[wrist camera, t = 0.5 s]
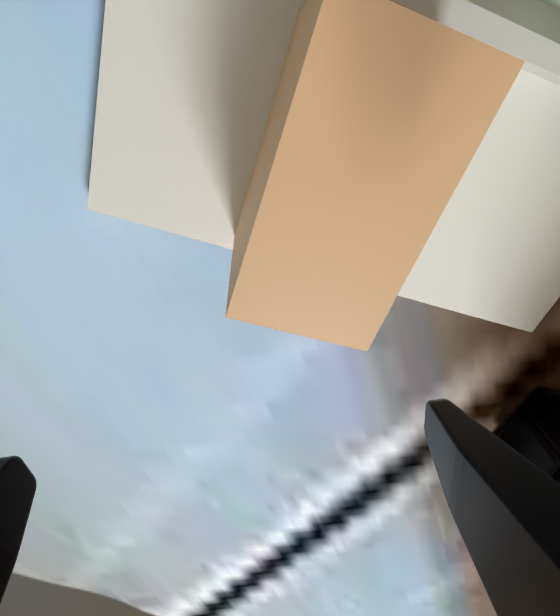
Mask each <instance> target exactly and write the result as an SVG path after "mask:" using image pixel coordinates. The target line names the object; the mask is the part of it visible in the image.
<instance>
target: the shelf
mask: <svg viewBox="0 0 560 616" xmlns="http://www.w3.org/2000/svg"><path fill="white" fill-rule="evenodd" d="M306 1H307V0H106V1H105V13H104V24H103V35H102V47H101V58H100V69H99V81H98V92H97V103H96V115H95V126H94V137H93V149H92V160H91V171H90V183H89V194H88V205H87V209H88V210H92V211H95V212H99V213H103V214H106V215H110V216H113V217H117V218H121V219H124V220H128V221H131V222H135V223H139V224H142V225H146V226H149V227H153V228H157V229H160V230H164V231H167V232H171V233H175V234H178V235H182V236H185V237H189V238H193V239H196V240H200V241H203V242H207V243H211V244H214V245H218V246H221V247H225V248H229V249H232V250H233V244H234V235H235V232H236V228H237V225H238V221H239V218H240V214H241V211H242V207H243V204H244V201H245V197H246V194H247V190H248V187H249V183H250V180H251V176H252V173H253V169H254V166H255V162H256V159H257V155H258V152H259V148H260V145H261V141H262V138H263V134H264V131H265V127H266V124H267V120H268V117H269V113H270V110H271V106H272V103H273V99H274V96H275V92H276V89H277V85H278V82H279V78H280V75H281V71H282V68H283V64H284V61H285V57H286V54H287V50H288V47H289V43H290V40H291V36H292V33H293V29H294V26H295V23H296V19H297V16H298V12H299V9H300V8H301V7H302V6H303V4H304V3H305V2H306ZM390 1H392V2H394V3H397V4H399V5H401V6H403V7H406V8H408V9H410V10H412V11H415V12H417V13H419V14H421V15H423V16H426V17H428V18H430V19H432V20H435V21H437V22H439V23H441V24H444V25H446V26H448V27H450V28H452V29H455V30H457V31H459V32H461V33H464V34H466V35H468V36H470V37H473V38H475V39H477V40H479V41H481V42H484V43H486V44H488V45H490V46H493V47H495V48H497V49H499V50H502V51H504V52H506V53H508V54H510V55H513V56H515V57H517V58H519V59H522V60H524V61H525V63H524V64H523V66H522V68H521V70H520V72H519V74H518V75H517V77H516V79H515V81H514V83H513V85H512V86H511V88H510V90H509V92H508V94H507V96H506V97H505V99H504V101H503V103H502V105H501V107H500V108H499V110H498V112H497V114H496V116H495V118H494V119H493V121H492V123H491V125H490V127H489V129H488V130H487V132H486V134H485V136H484V138H483V140H482V141H481V143H480V145H479V147H478V149H477V151H476V152H475V154H474V156H473V158H472V160H471V162H470V163H469V165H468V167H467V169H466V171H465V173H464V174H463V176H462V178H461V180H460V182H459V184H458V185H457V187H456V189H455V191H454V193H453V195H452V196H451V198H450V200H449V202H448V204H447V205H446V207H445V209H444V211H443V213H442V215H441V216H440V218H439V220H438V222H437V224H436V226H435V227H434V229H433V231H432V233H431V235H430V237H429V238H428V240H427V242H426V244H425V246H424V248H423V249H422V251H421V253H420V255H419V257H418V259H417V260H416V262H415V264H414V266H413V268H412V270H411V271H410V273H409V275H408V277H407V279H406V281H405V282H404V284H403V286H402V288H401V290H400V292H399V293H398V296H402V297H405V298H409V299H412V300H416V301H420V302H423V303H427V304H430V305H434V306H438V307H441V308H445V309H448V310H452V311H456V312H459V313H463V314H466V315H470V316H474V317H477V318H481V319H484V320H488V321H492V322H495V323H499V324H502V325H506V326H510V327H513V328H517V329H520V330H524V331H528V332H531V333H532V332H533V330H534V329H535V328H536V326H537V325H538V324H539V323H540V321H541V320H542V319H543V317H544V316H545V315H546V314H547V312H548V311H549V310H550V309H551V307H552V306H553V305H554V303H555V302H556V301H557V300H558V298H559V297H560V10H559V9H557V8H555V7H553V6H551V5H549V4H546V3H544V2H542V1H540V0H390Z"/></svg>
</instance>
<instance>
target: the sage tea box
mask: <svg viewBox="0 0 560 616" xmlns="http://www.w3.org/2000/svg"><path fill="white" fill-rule="evenodd" d="M540 1H542V2H544V3H546V4H549V5H551V6H553V7H555V8H557V9H559V10H560V0H540Z"/></svg>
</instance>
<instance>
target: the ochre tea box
mask: <svg viewBox="0 0 560 616" xmlns="http://www.w3.org/2000/svg"><path fill="white" fill-rule="evenodd" d="M524 63H525V61H524V60H522V59H519V58H517V57H515V56H513V55H510V54H508V53H506V52H504V51H502V50H499V49H497V48H495V47H493V46H490V45H488V44H486V43H484V42H481V41H479V40H477V39H475V38H473V37H470V36H468V35H466V34H464V33H461V32H459V31H457V30H455V29H452V28H450V27H448V26H446V25H444V24H441V23H439V22H437V21H435V20H432V19H430V18H428V17H426V16H423V15H421V14H419V13H417V12H415V11H412V10H410V9H408V8H406V7H403V6H401V5H399V4H397V3H394V2H392V1H390V0H307V1H306V2H305V3H304V4H303V6H302V7H301V8H300V9H299V12H298V16H297V19H296V23H295V26H294V29H293V33H292V36H291V40H290V43H289V47H288V50H287V54H286V57H285V61H284V64H283V68H282V71H281V75H280V78H279V82H278V85H277V89H276V92H275V96H274V99H273V103H272V106H271V110H270V113H269V117H268V120H267V124H266V127H265V131H264V134H263V138H262V141H261V145H260V148H259V152H258V155H257V159H256V162H255V166H254V169H253V173H252V176H251V180H250V183H249V187H248V190H247V194H246V197H245V201H244V204H243V207H242V211H241V214H240V218H239V221H238V225H237V228H236V232H235V235H234V244H233V253H232V262H231V272H230V281H229V290H228V299H227V308H226V318H231V319H235V320H239V321H243V322H247V323H251V324H255V325H260V326H264V327H268V328H272V329H276V330H280V331H285V332H289V333H293V334H297V335H301V336H305V337H309V338H314V339H318V340H322V341H326V342H330V343H334V344H339V345H343V346H347V347H351V348H355V349H359V350H364V351H367V350H368V348H369V347H370V345H371V343H372V341H373V339H374V337H375V336H376V334H377V332H378V330H379V328H380V326H381V325H382V323H383V321H384V319H385V317H386V315H387V314H388V312H389V310H390V308H391V306H392V304H393V303H394V301H395V299H396V297H397V295H398V293H399V292H400V290H401V288H402V286H403V284H404V282H405V281H406V279H407V277H408V275H409V273H410V271H411V270H412V268H413V266H414V264H415V262H416V260H417V259H418V257H419V255H420V253H421V251H422V249H423V248H424V246H425V244H426V242H427V240H428V238H429V237H430V235H431V233H432V231H433V229H434V227H435V226H436V224H437V222H438V220H439V218H440V216H441V215H442V213H443V211H444V209H445V207H446V205H447V204H448V202H449V200H450V198H451V196H452V195H453V193H454V191H455V189H456V187H457V185H458V184H459V182H460V180H461V178H462V176H463V174H464V173H465V171H466V169H467V167H468V165H469V163H470V162H471V160H472V158H473V156H474V154H475V152H476V151H477V149H478V147H479V145H480V143H481V141H482V140H483V138H484V136H485V134H486V132H487V130H488V129H489V127H490V125H491V123H492V121H493V119H494V118H495V116H496V114H497V112H498V110H499V108H500V107H501V105H502V103H503V101H504V99H505V97H506V96H507V94H508V92H509V90H510V88H511V86H512V85H513V83H514V81H515V79H516V77H517V75H518V74H519V72H520V70H521V68H522V66H523V64H524Z"/></svg>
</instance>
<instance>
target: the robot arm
mask: <svg viewBox="0 0 560 616" xmlns="http://www.w3.org/2000/svg"><path fill="white" fill-rule="evenodd" d="M424 430H425V436H426V439H427V442H428V446H429V449H430V452H431V455H432V458H433V461H434V464H435V467H436V470H437V473H438V476H439V479H440V482H441V485H442V488H443V492H444V495H445V498H446V500H447V503H448V506H449V509H450V511H451V513H452V516H453V518H454V520H455V523H456V525H457V527H458V529H459V531H460V534H461V536H462V538H463V540H464V543H465V545H466V547H467V549H468V551H469V554H470V556H471V558H472V560H473V563H474V565H475V567H476V569H477V571H478V574H479V576H480V578H481V580H482V583H483V585H484V587H485V589H486V591H487V594H488V596H489V598H490V600H491V603H492V605H493V607H494V609H495V611H496V614H497V616H560V392H559V391H555V390H551V389H546V388H539V389H536V390H535V391H534V392H533V393H532V394H531V395H530V396H529V397H528V399H527V400H526V401H525V402H524V403H523V404H522V406H521V407H520V408H519V409H518V410H517V411H516V413H515V414H514V415H513V416H512V417H511V418H510V420H509V421H508V422H507V423H506V424H505V425H504V426H503V428H502V429H501V430H500V431H499V432H498V433H497V435H494V434H493V433H492V432H490V431H489V430H488V429H486V428H485V427H484V426H482V425H481V424H480V423H478V422H477V421H476V420H475V419H473V418H472V417H471V416H469V415H468V414H467V413H465V412H464V411H463V410H461V409H460V408H459V407H457V406H456V405H455V404H453V403H452V402H451V401H449V400H447V399H437V400H430V401H428V402H427V403H426V410H425V424H424ZM35 491H36V479H35V477H34V475H33V474H32V473H31V471H30V470H29V468H28V467H27V466H26V464H25V463H24V462H23V460H22V459H21V458H20V457H18V456H10V457H2V458H0V603H1V601H2V598H3V595H4V592H5V590H6V587H7V585H8V582H9V579H10V577H11V574H12V571H13V568H14V566H15V563H16V560H17V556H18V553H19V550H20V546H21V543H22V539H23V535H24V532H25V528H26V524H27V520H28V517H29V513H30V509H31V506H32V502H33V498H34V495H35Z"/></svg>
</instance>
